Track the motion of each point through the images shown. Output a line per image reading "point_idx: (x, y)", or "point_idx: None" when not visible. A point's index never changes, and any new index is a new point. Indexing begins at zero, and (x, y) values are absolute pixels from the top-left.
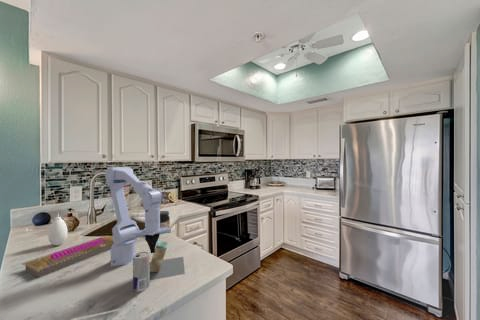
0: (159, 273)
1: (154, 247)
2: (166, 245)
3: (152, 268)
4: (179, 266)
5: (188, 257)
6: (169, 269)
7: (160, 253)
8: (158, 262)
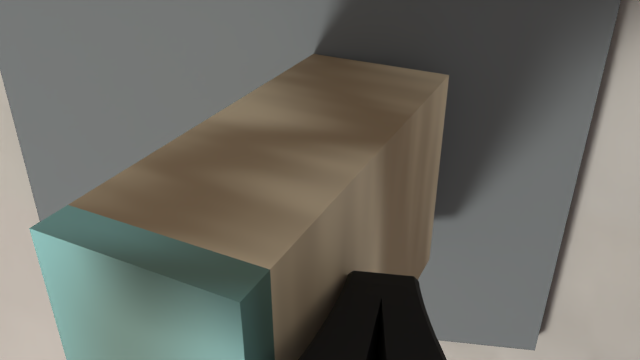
0: (301, 19)
1: (326, 339)
2: (70, 340)
3: (392, 82)
4: (60, 96)
5: (11, 278)
6: (179, 73)
7: (213, 178)
8: (290, 106)
